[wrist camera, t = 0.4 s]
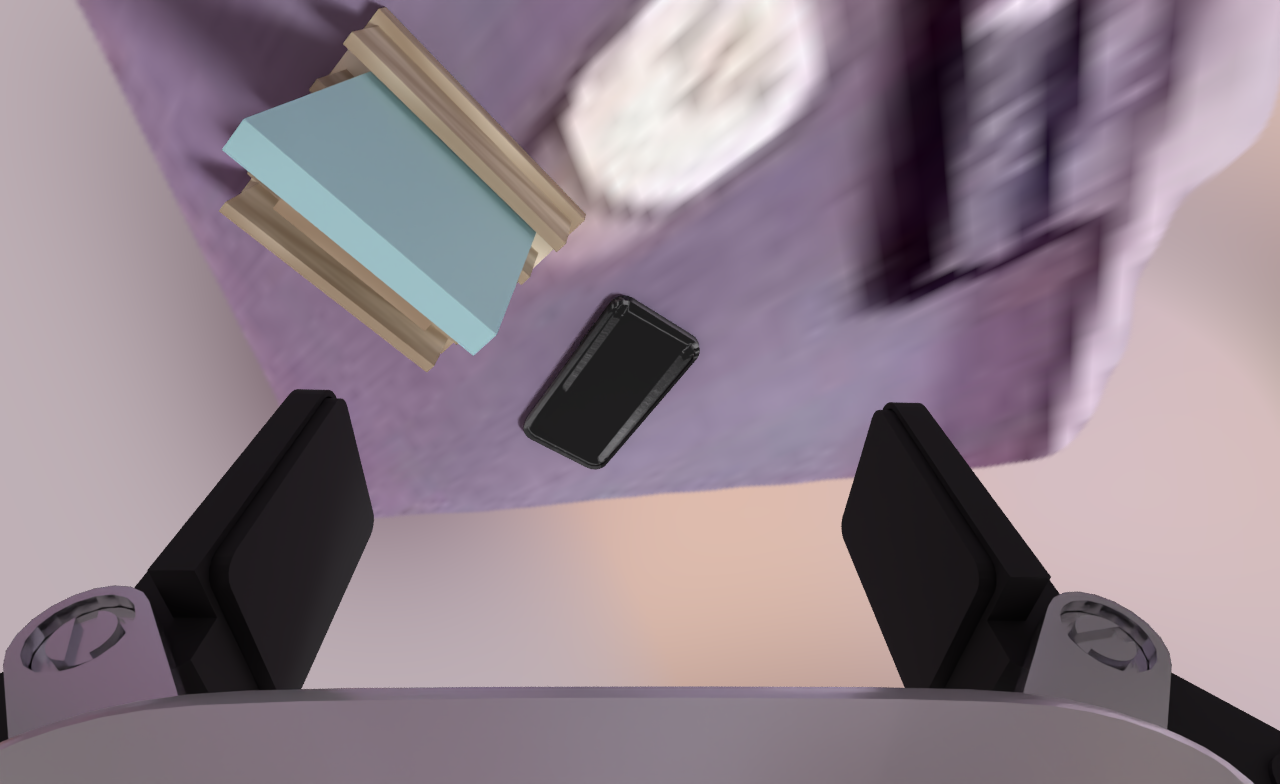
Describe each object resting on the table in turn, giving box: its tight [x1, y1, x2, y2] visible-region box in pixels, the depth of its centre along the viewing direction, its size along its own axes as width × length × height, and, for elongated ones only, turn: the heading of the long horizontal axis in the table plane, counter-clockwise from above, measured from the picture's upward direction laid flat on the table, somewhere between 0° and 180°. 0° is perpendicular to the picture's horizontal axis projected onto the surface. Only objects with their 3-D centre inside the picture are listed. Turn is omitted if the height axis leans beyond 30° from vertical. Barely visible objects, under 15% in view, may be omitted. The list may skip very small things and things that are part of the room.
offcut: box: [273, 199, 433, 331], centre depth 38 cm, size 2×10×7 cm, turn 42°
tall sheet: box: [222, 71, 536, 356], centre depth 32 cm, size 2×12×16 cm, turn 42°
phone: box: [524, 296, 700, 469], centre depth 50 cm, size 8×1×15 cm
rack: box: [219, 7, 586, 372], centre depth 40 cm, size 15×16×5 cm
